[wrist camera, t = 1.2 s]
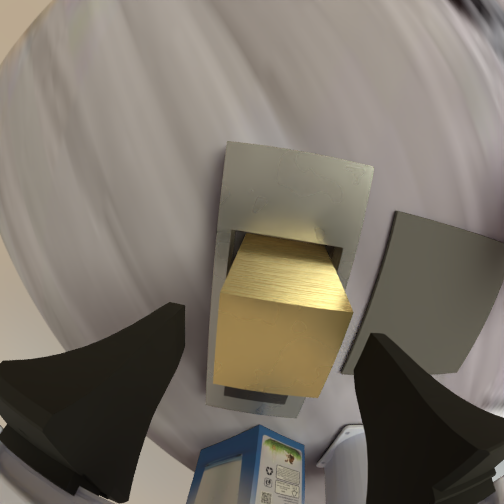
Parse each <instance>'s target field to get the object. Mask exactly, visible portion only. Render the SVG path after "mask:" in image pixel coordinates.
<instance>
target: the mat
mask: <svg viewBox="0 0 504 504" xmlns="http://www.w3.org/2000/svg"><path fill="white" fill-rule="evenodd" d="M503 280H504V243H502V242H499V241H496V240H493V239H490V238H488V237H485V236H482V235H479V234H476V233H473V232H470V231H466V230H463V229H460V228H457V227H454V226H450V225H447V224H444V223H440V222H437V221H433V220H430V219H426V218H422V217H419V216H415V215H411V214H407V213H403V212H400V211H396V212H395V217H394V221H393V225H392V229H391V233H390V237H389V241H388V244H387V248H386V252H385V255H384V259H383V262H382V265H381V269H380V272H379V275H378V278H377V281H376V284H375V287H374V290H373V293H372V296H371V299H370V302H369V305H368V307H367V310H366V313H365V316H364V318H363V321H362V323H361V326H360V329H359V331H358V334H357V336H356V338H355V341H354V343H353V346H352V348H351V350H350V353H349V355H348V357H347V360H346V362H345V364H344V366H343V368H342V371H341V373H342V374H347V375H354V368H355V366H356V364H357V362H358V359H359V357H360V355H361V353H362V351H363V349H364V346H365V344H366V342H367V340H368V337H369V335H370V333H383V334H385V335H386V336H388V337H389V338H390V339H391V340H392V341H394V342H395V343H396V344H397V345H398V346H399V347H400V348H401V349H402V350H403V351H404V352H405V353H406V354H407V355H409V356H410V357H411V358H412V359H413V360H414V361H415V362H416V363H417V364H418V365H419V366H420V367H421V368H423V369H424V370H425V371H426V372H427V373H428V374H445V373H457V371H458V370H459V368H460V367H461V365H462V363H463V362H464V360H465V359H466V357H467V355H468V353H469V352H470V350H471V348H472V347H473V345H474V343H475V341H476V339H477V337H478V336H479V334H480V332H481V330H482V328H483V326H484V324H485V322H486V320H487V318H488V316H489V313H490V311H491V309H492V307H493V305H494V302H495V300H496V298H497V295H498V293H499V290H500V288H501V285H502V283H503Z"/></svg>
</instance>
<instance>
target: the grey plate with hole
mask: <svg viewBox="0 0 504 504" xmlns="http://www.w3.org/2000/svg"><path fill="white" fill-rule="evenodd" d="M373 171H374V167H371V166H367V165H363V164H359V163H355V162H351V161H346V160H342V159H338V158H333V157H328V156H323V155H318V154H313V153H308V152H302V151H296V150H291V149H284V148H278V147H271V146H264V145H256V144H248V143H240V142H230V141H227V147H226V154H225V162H224V171H223V179H222V188H221V196H220V206H219V215H218V225H217V235H216V246H215V257H214V269H213V281H212V294H211V308H210V323H209V340H208V359H207V382H206V405H208V406H213V407H218V408H223V409H228V410H234V411H240V412H246V413H252V414H260V415H267V416H276V417H286V418H297V416H298V414H299V412H300V409H301V407H302V405H303V403H304V400H305V398H306V397H300V396H290V395H281V394H273V393H265V392H258V391H251V390H245V389H239V388H233V387H228V386H223V385H218V384H213V375H214V361H215V347H216V334H217V321H218V310H219V298H220V291H221V289H222V287H223V285H224V282H225V280H226V278H227V275H228V273H229V271H230V269H231V266H232V259H233V250H234V242H235V233H236V230H238V231H245V232H251V233H257V234H264V235H270V236H276V237H282V238H289V239H295V240H301V241H307V242H313V243H318V244H324V245H330V246H335V247H334V251H333V255H332V260H331V261H332V264H333V266H334V268H335V270H336V273H337V275H338V277H339V279H340V282H341V284H342V286H343V289H344V291H345V289H346V286H347V282H348V279H349V276H350V272H351V268H352V265H353V261H354V257H355V254H356V250H357V246H358V242H359V238H360V234H361V230H362V225H363V221H364V217H365V212H366V207H367V203H368V198H369V193H370V188H371V182H372V177H373Z"/></svg>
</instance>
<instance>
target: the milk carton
mask: <svg viewBox="0 0 504 504" xmlns="http://www.w3.org/2000/svg"><path fill="white" fill-rule="evenodd" d="M304 501H305V451H304V445H302V444H300V443H298V442H295V441H293V440H291V439H289V438H286V437H284V436H282V435H280V434H278V433H276V432H274V431H272V430H270V429H268V428H266V427H264V426H262V425H258V426H256V427H254V428H251V429H249V430H247V431H245V432H243V433H241V434H238V435H236V436H234V437H232V438H229V439H227V440H225V441H222V442H220V443H217V444H215V445H212V446H210V447H207V448H204V449H202V450H201V452H200V456H199V459H198V463H197V466H196V470H195V473H194V477H193V481H192V484H191V488H190V492H189V495H188V499H187V502H186V504H304Z"/></svg>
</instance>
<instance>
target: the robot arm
mask: <svg viewBox="0 0 504 504" xmlns="http://www.w3.org/2000/svg"><path fill="white" fill-rule="evenodd" d="M184 348H185V305H181V304H177V303H172V302H169V303H167V304H166V305H164V306H162V307H161V308H159V309H157V310H156V311H154V312H153V313H151V314H149V315H148V316H146V317H144V318H143V319H141V320H139V321H138V322H136V323H134V324H132V325H131V326H129V327H127V328H125V329H123V330H121V331H119V332H117V333H115V334H113V335H111V336H109V337H107V338H105V339H103V340H100V341H98V342H95V343H93V344H90V345H88V346H85V347H82V348H78V349H75V350H72V351H68V352H65V353H61V354H57V355H52V356H48V357H42V358H35V359H27V360H12V361H11V360H10V361H2V362H1V363H0V415H1V417H2V418H3V419H4V420H5V422H6V423H7V425H6V426H5V428H4V429H3V428H2V426H1V425H0V504H114V503H112V502H110V501H107V500H106V499H110V500H113V501H115V502H117V503H124V502H127V501H128V500H129V495H130V491H131V486H132V482H133V477H134V474H135V470H136V466H137V463H138V459H139V455H140V452H141V449H142V446H143V443H144V440H145V437H146V434H147V431H148V428H149V425H150V423H151V420H152V417H153V415H154V413H155V411H156V408H157V406H158V404H159V403H160V401H161V399H162V397H163V395H164V393H165V391H166V389H167V387H168V385H169V383H170V381H171V379H172V377H173V375H174V373H175V371H176V369H177V367H178V365H179V362H180V359H181V356H182V353H183V351H184ZM354 383H355V392H356V396H357V401H358V405H359V409H360V414H361V418H362V423H363V425H348V426H346V427H344V428H343V430H342V431H341V433H340V434H339V435H338V437H337V438H336V439H335V441H334V442H333V444H332V445H331V446H330V447H329V449H328V450H327V451H326V453H325V454H324V455H323V456H322V458H321V459H320V460H319V461H318V463H317V464H316V466H317V467H319V468H322V467H324V472H325V495H326V504H504V475H503V476H502V477H500V478H499V479H497V480H496V481H494V482H493V481H492V477H493V476H495V474H496V471H495V469H494V467H496V466H497V465H498V464H499V463H500V462H501V461H503V460H504V418H503V417H500V416H497V415H494V414H492V413H489V412H487V411H485V410H482V409H480V408H478V407H476V406H474V405H473V404H471V403H469V402H467V401H466V400H464V399H462V398H460V397H459V396H457V395H456V394H454V393H453V392H451V391H450V390H449V389H447V388H446V387H444V386H443V385H442V384H440V383H439V382H438V381H437V380H435V379H434V378H433V377H432V376H431V375H430V374H428V373H427V372H426V371H425V370H424V369H423V368H421V367H420V366H419V365H418V364H417V363H416V362H415V361H414V360H413V359H412V358H411V357H410V356H409V355H407V354H406V353H405V352H404V351H403V350H402V349H401V348H400V347H399V346H398V345H397V344H396V343H395V342H394V341H392V340H391V339H390V338H389V337H388V336H386V335H385V334H383V333H370V335H369V337H368V340H367V342H366V344H365V346H364V349H363V351H362V353H361V355H360V357H359V359H358V362H357V364H356V366H355V368H354ZM99 495H100V496H102V497H104V498H106V499H103V498H101V497H99Z"/></svg>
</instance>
